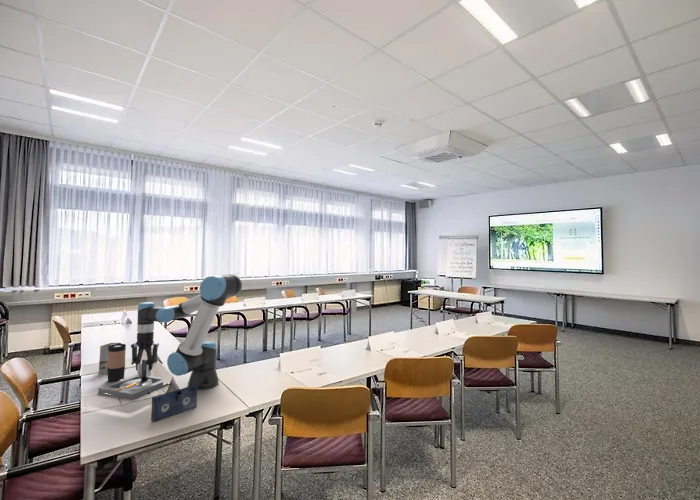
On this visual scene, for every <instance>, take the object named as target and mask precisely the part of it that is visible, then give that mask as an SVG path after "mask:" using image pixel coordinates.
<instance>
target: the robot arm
mask: <svg viewBox="0 0 700 500" xmlns="http://www.w3.org/2000/svg"><path fill="white" fill-rule="evenodd" d="M242 283H243V281H242V280H241V279H240V277H238V276H237V275H235V274H232V273H231V274H230V273H229V274H213V275H209V276H206V277H205V278H203V279H202V281H201V282H200V286H199V294H198V295H195V296H193V297H191V298H189V299H187V300H184V301H183V302H181V303H179V304H178V303H177V304H173V305H166V306H156V305H155V302H152V301H150V302H149V301H145V302H139V303H138V305H137V322H136V323H137V325H136V326H137V329H136V331H137V333H136V340H137V341H136V342H135V343H132V344H130V347H131V348H130V349H131V363H132V364H135V371H137V373H136V375H137V377H140V376H141V371H142V357H143V355H144V354H143V353H144V351H145V352H146V359H148V364H147V371H146V377H149V376H152V374H151V373H152V370H153V367H154V366H153V365H154V363H157V362H158V348H159V346H160V344H159V343H156V342H155V341H154V336H155V335H154V334H155V332H154V330H155V322H157V323H158V322H159V323H168V322H171V321H172V320H176V319H181V318H187V317H189V316H191V315H192V313H195V312H196V314H195V317H194V318H193V321H192V323H191V325H190V327H189V330H188V331H187V334H186V337H184V338H185V339H184V341H182V342H180V343H179V344H178V347H177V349H176V350H175V351H174V352H172V353H170V354H169V355H168V356H167V358H166V359H167V361H166V364H167V367H168V370H169V371H170V373H171V374H173V375H175V376H178V377H179V376H183V375H186V374H189V373H190V377H189V379H188V381H187V382H188V383H187V387H190V386H193V385H196V386H197V391H198V390H199V391H200V390H207V389H212V388H215V387H216V386H218V385H219V379H220V378H219V376H218V373H217V367H216V366H217V343H216V342H215V341H212V340H211V341H209V340H206V337H207V335H208V333H209V332H210V331H209V330H210V329H211V326H212V324H213V322H214V319H215V317H216V316H217V314H218V311H219V309H220V308H221V307H223V306H224V305H225V303H226V301H227V300H228V299H231V298H232V297H235V296H237V295H239V294H240V293H241V291H242V287H243V284H242Z"/></svg>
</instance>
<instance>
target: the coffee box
mask: <svg viewBox="0 0 700 500" xmlns="http://www.w3.org/2000/svg"><path fill="white" fill-rule="evenodd" d="M115 344H122V342H110V343H109V342H108V343H106V344H103V345H100V346H99V348H100V349H99V360H98V361H99V362H98V363H99V364H98V374H100V375H108V356H109V346H111V345H115Z"/></svg>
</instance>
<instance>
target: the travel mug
mask: <svg viewBox="0 0 700 500" xmlns="http://www.w3.org/2000/svg"><path fill="white" fill-rule="evenodd" d="M126 347H127V345H126V344H125V343H121V344H115V345H111V346H109V356H108V374H107V382H108V383H115V382H117V381H119V380H121V379H125V370H126V349H127V348H126Z"/></svg>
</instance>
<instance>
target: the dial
mask: <svg viewBox="0 0 700 500" xmlns="http://www.w3.org/2000/svg"><path fill="white" fill-rule="evenodd" d="M141 363H142V371H141V379H135V380H131V381H127V382H125V383H122V384H121V385H120V388H122V389H124V390H130V391H136V390H138V389H141V388H143V387H146V386H148V385H151V384H152V380H150V379H148V377H146V371H147V364H148V359H147V358H144V359H141Z"/></svg>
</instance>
